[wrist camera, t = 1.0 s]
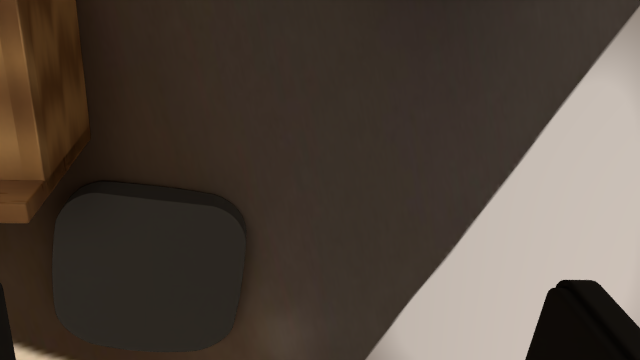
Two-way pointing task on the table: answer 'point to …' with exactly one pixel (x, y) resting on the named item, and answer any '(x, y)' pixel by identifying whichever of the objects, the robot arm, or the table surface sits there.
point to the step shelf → (38, 102)
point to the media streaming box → (148, 267)
